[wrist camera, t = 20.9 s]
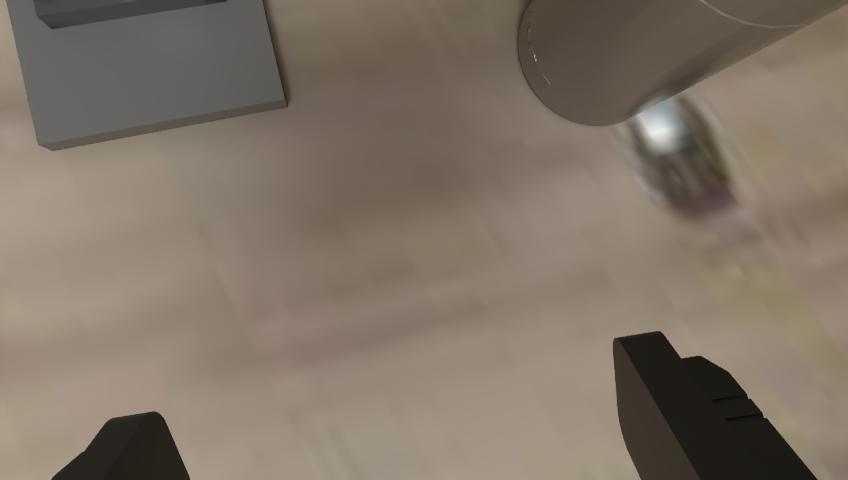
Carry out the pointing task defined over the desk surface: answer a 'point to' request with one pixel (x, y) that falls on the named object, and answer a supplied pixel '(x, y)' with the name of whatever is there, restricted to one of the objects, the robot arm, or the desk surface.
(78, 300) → the desk surface
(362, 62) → the desk surface
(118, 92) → the power dock
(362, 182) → the desk surface
